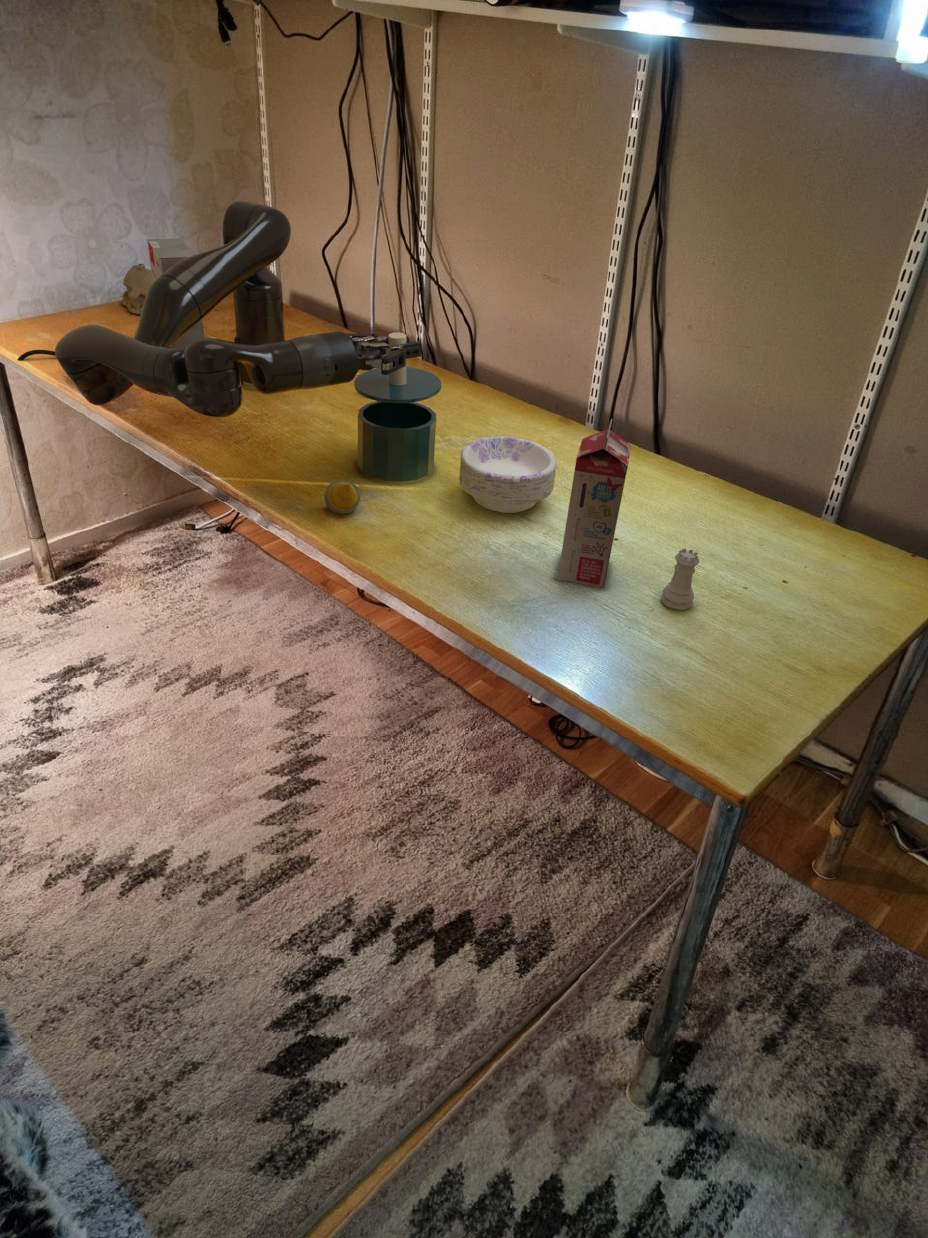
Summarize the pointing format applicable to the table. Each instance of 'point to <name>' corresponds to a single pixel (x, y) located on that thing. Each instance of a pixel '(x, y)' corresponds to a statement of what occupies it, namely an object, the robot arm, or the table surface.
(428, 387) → the lid
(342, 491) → the drill bit
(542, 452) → the paper bowls
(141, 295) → the ceramic model
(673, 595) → the rook chess piece
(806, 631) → the table surface
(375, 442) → the pot
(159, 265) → the hard drive box
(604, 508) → the juice carton
